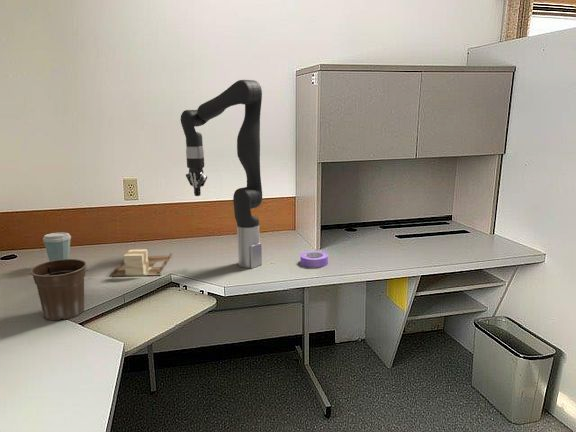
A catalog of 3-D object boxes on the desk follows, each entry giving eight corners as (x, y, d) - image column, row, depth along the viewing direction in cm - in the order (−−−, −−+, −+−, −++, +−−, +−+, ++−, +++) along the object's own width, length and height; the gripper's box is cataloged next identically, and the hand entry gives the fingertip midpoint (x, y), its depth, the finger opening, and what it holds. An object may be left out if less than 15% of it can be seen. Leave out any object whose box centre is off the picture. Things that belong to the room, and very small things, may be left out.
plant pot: (102, 305, 158) (97, 260, 154) (68, 326, 143) (61, 277, 139) (62, 300, 162) (56, 257, 159) (25, 321, 147) (18, 273, 144)
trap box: (129, 258, 206) (128, 254, 206) (172, 257, 207) (171, 253, 206) (111, 277, 184) (111, 272, 183) (160, 276, 184) (159, 271, 184)
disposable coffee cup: (48, 265, 199) (43, 231, 196) (75, 262, 203) (71, 229, 200) (45, 273, 190) (40, 238, 186) (74, 269, 193) (69, 235, 190)
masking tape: (305, 269, 190) (305, 260, 189) (297, 260, 201) (297, 252, 200) (331, 266, 193) (332, 257, 192) (322, 258, 204) (322, 249, 203)
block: (131, 268, 191) (129, 249, 189) (148, 267, 191) (147, 249, 189) (125, 275, 183) (123, 255, 181) (143, 274, 183) (141, 255, 181)
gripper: (179, 156, 203) (181, 195, 207) (197, 158, 195) (199, 198, 199) (193, 155, 209) (195, 192, 213) (211, 156, 200) (213, 196, 204)
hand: (197, 195), depth 206 cm, fingers closed
